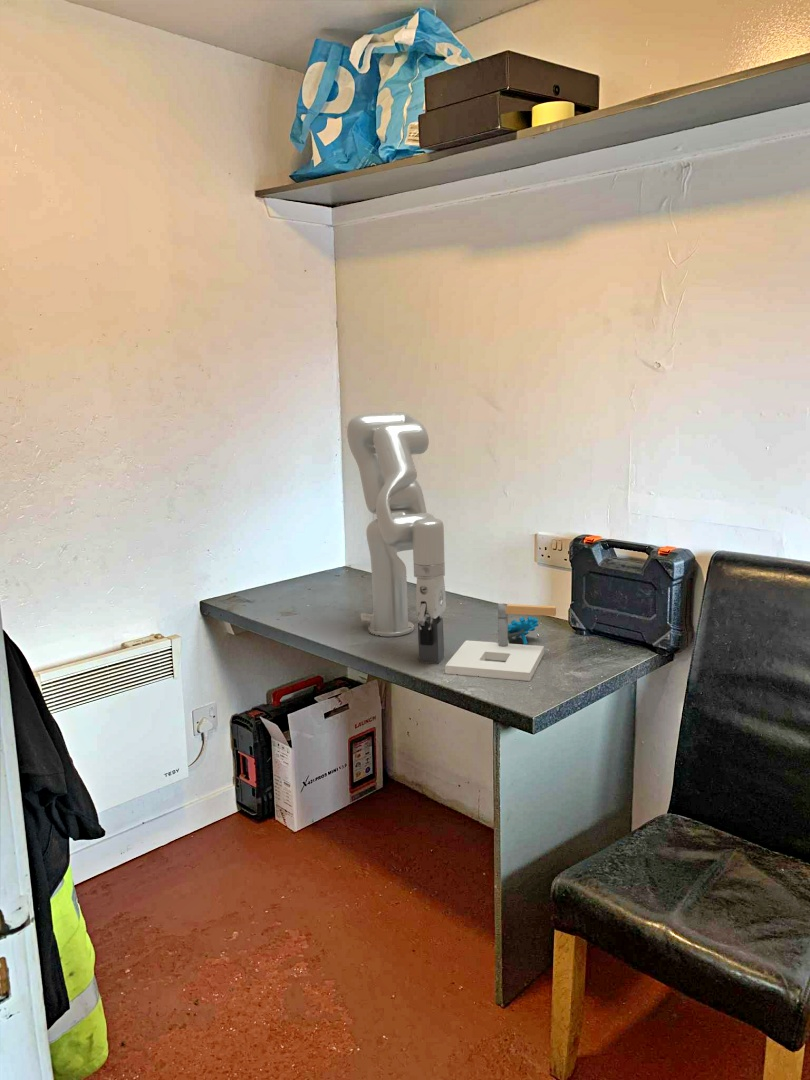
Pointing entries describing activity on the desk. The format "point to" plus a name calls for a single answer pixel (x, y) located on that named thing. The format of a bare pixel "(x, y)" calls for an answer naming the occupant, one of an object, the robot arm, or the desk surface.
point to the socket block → (496, 658)
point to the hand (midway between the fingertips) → (431, 639)
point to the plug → (437, 649)
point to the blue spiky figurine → (522, 628)
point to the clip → (525, 610)
